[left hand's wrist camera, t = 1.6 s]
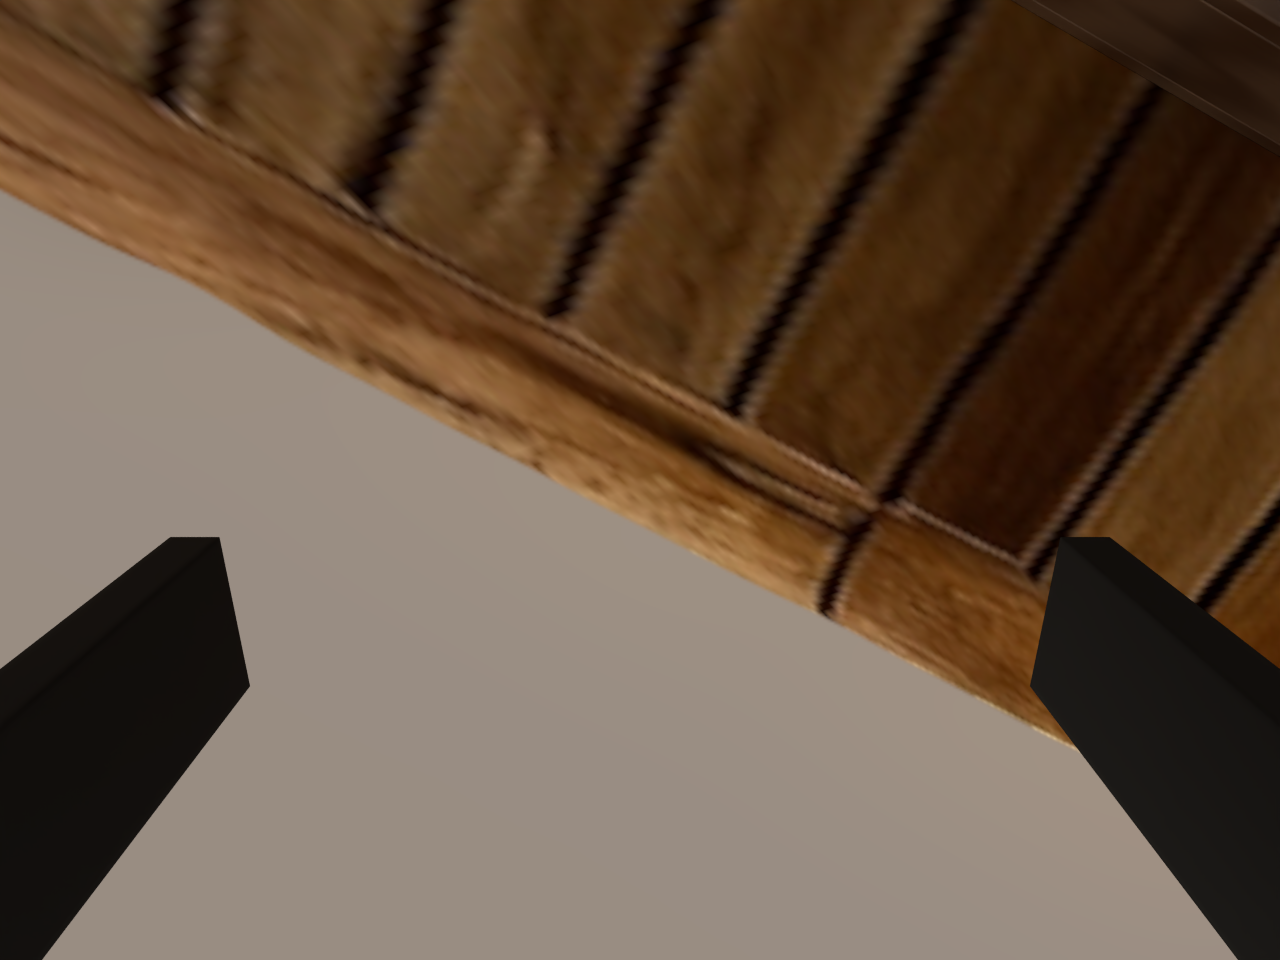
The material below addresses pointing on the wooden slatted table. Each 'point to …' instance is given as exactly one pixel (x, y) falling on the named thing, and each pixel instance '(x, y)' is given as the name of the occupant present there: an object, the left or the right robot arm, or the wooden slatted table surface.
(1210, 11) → the cabinet
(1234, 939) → the left robot arm
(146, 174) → the wooden slatted table surface
